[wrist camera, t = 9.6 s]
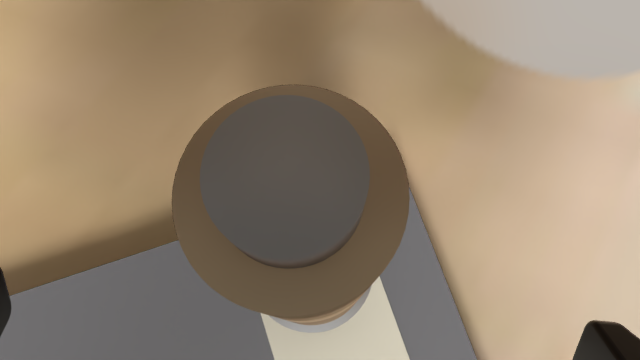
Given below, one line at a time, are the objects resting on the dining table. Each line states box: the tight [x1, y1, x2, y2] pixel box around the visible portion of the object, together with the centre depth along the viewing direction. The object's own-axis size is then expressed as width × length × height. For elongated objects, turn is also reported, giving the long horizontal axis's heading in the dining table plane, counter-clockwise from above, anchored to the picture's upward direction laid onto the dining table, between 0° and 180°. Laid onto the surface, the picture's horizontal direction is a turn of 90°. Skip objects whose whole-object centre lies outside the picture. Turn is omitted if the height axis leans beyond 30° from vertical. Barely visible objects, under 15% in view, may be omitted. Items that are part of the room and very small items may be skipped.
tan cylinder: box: [172, 85, 410, 333], centre depth 12 cm, size 4×4×12 cm
